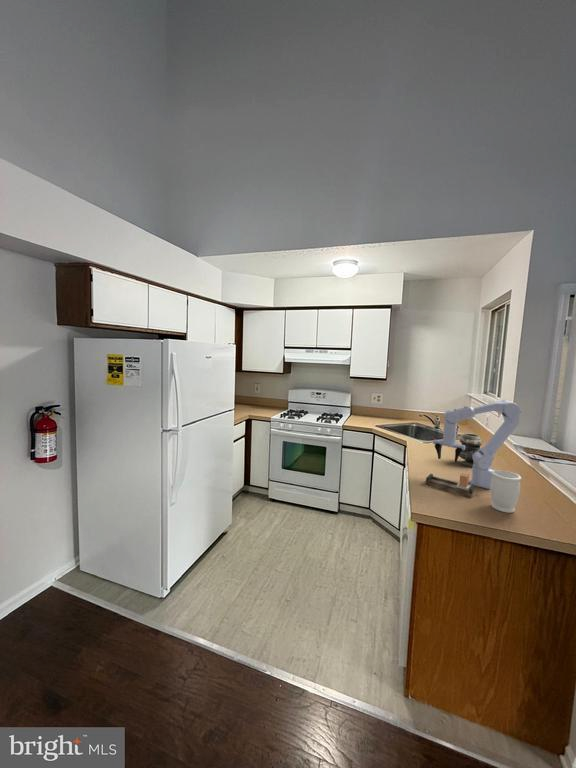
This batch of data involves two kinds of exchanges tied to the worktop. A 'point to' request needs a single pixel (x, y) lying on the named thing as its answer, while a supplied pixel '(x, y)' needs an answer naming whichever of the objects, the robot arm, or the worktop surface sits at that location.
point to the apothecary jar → (469, 448)
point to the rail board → (448, 486)
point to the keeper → (464, 482)
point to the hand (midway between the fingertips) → (447, 460)
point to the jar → (504, 490)
